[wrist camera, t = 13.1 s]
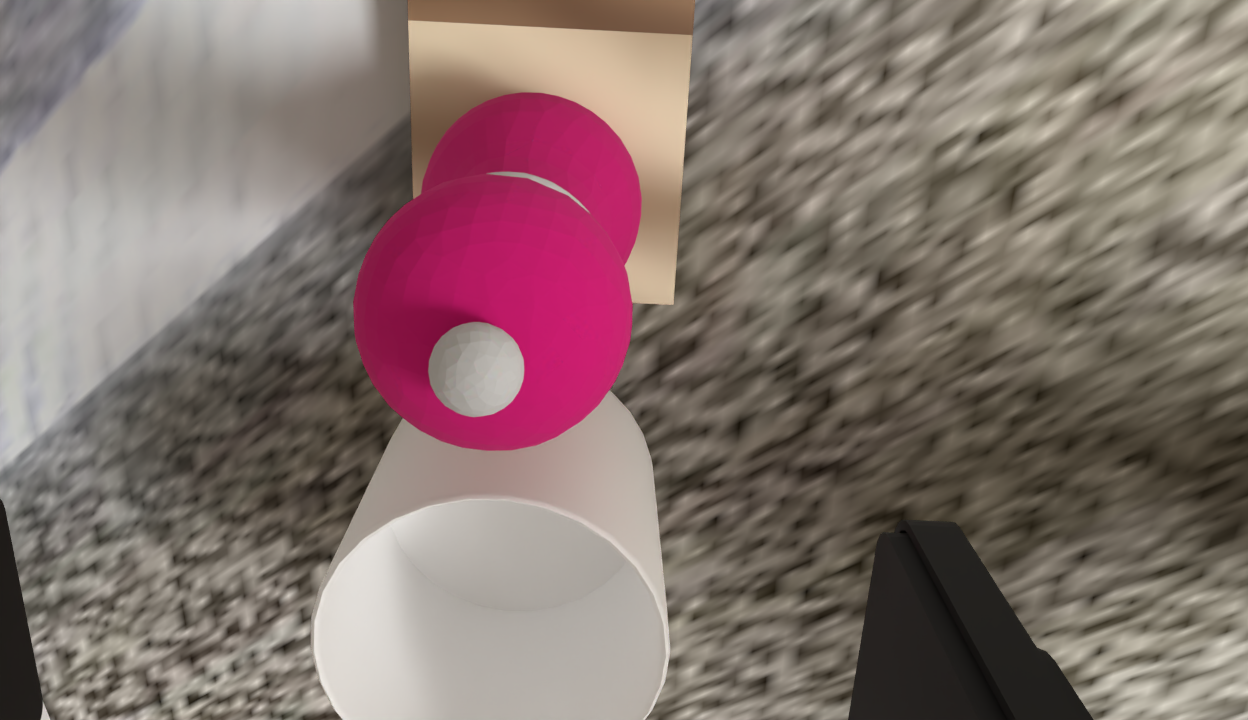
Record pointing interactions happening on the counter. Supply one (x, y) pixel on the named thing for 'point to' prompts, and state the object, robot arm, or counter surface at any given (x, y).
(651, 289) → the wooden divided tray
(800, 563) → the counter surface
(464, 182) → the pepper mill
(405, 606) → the cup
